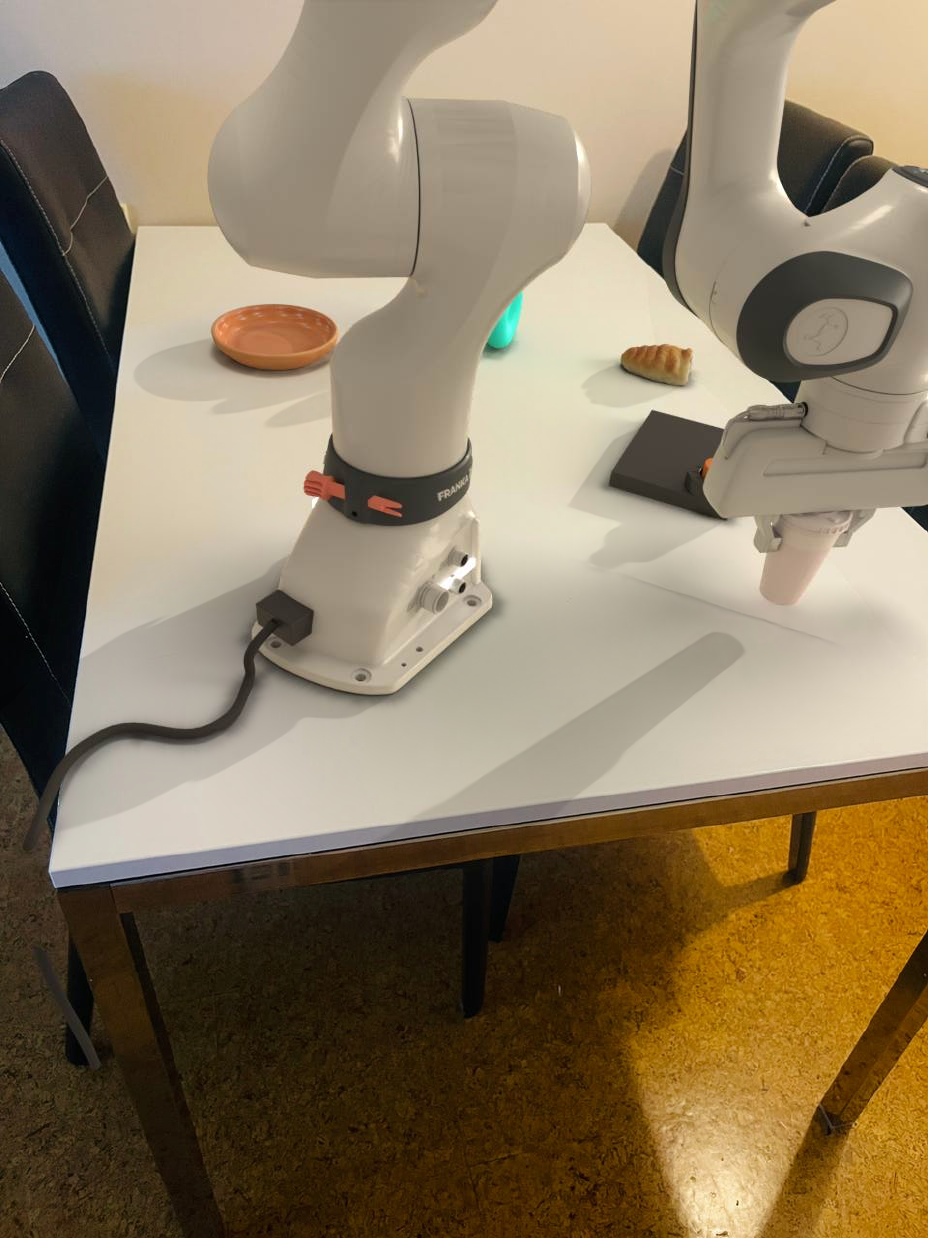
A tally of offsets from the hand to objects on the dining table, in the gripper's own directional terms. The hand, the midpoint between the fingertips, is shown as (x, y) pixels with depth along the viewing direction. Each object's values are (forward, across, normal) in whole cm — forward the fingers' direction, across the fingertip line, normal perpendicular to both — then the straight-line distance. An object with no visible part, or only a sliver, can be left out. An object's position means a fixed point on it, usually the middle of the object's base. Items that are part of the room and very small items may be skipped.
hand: (799, 545), depth 77 cm
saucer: (+8, -43, +58) cm, 72 cm away
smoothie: (+6, 0, 0) cm, 6 cm away
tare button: (+4, +1, +18) cm, 18 cm away
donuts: (+8, -16, +59) cm, 62 cm away
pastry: (+8, +7, +48) cm, 49 cm away
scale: (+8, +1, +24) cm, 26 cm away
